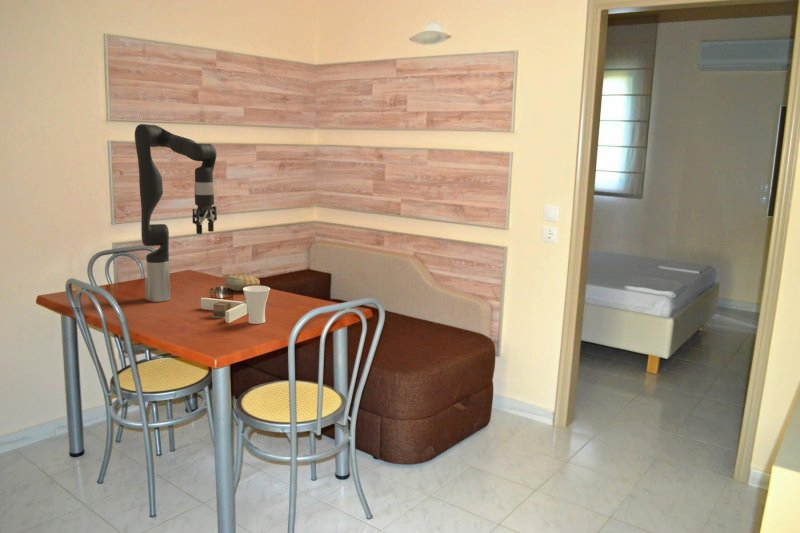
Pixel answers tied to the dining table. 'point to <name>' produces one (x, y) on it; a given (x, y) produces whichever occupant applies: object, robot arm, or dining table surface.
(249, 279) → the nautilus
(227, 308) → the block
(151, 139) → the robot arm
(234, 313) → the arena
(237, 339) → the dining table surface
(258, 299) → the cup
